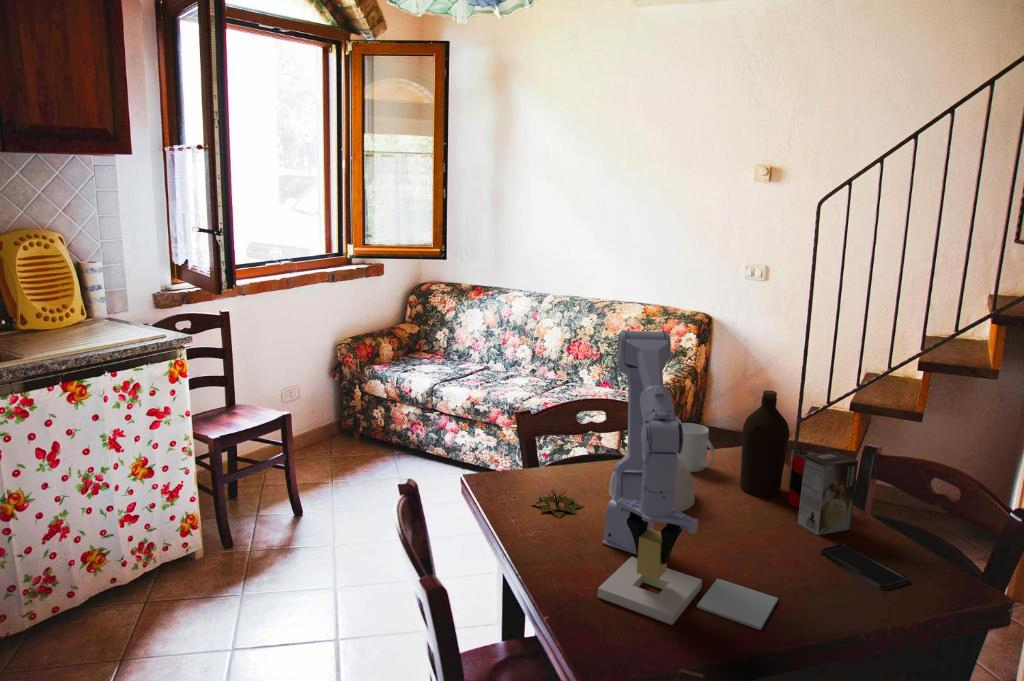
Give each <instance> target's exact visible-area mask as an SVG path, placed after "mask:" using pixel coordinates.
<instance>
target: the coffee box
mask: <svg viewBox="0 0 1024 681" xmlns="http://www.w3.org/2000/svg"><path fill="white" fill-rule="evenodd" d="M858 465H859V460H856V459H854V458H851V456H847V455H845V454H843V453H840V452H838V451H831V452H824V453H817V454H815V455H808V456H805V461H804V470H803V479H802V488H801V498H800V507H799V508H798V516H797V517H798V518H797V524H798V525H799V526H801V527H803V528H805V529H806V530H808V531H810V532H811V533H814V534H815V535H816V536H823V535H827V534H828V533H829V534H832V533H834V534H835V533H837V532H838V533H839V532H843V531H849V530H850V529H851V522H852V514H853V506H854V497H855V488H856V482H857V473H858Z"/></svg>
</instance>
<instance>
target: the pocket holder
mask: <svg viewBox="0 0 1024 681" xmlns="http://www.w3.org/2000/svg"><path fill="white" fill-rule="evenodd" d="M637 561H638V557H634V556H631V557H629V558H628V559H627V560H626V561H625V562H624V563H623V564H622V565H621V566H620V567H618V568H617V569H616V571H614V572H613V573H612V574H611V575H610V576H609V577H608V578H607V579H606V580H605V581H603V582H602V583H601V585H599V587H598V588H597V598H598V599H602V600H604V601H606V602H610V603H612V604H615V605H618V606H621V607H622V608H625V609H628V610H630V611H634V612H636V613H639V614H641V615H645V616H647V617H649V618H652V619H654V620H657V621H660V622H663V623H666V624H667V625H671V626H673V625H674V624H675V623H676V621H677V619H679V617H680V616H681V615H682V613H683V612H684V611H685V610H686V608H687V607H688V606H689V605H690V604H691V602H692V600H694V599H695V597H696V596H697V595H698V593H699V592H700V591H701V590H702V585H703V583H702V582H703V579H701V578H698V577H695V576H692V575H689V574H687V573H682V572H680V571H676V570H673V569H670V568H667V570H666V572H665V573H664V574H663V575H662V576H661V577H660V578H659V579H658V580H655V579H652V578H650V577H647V576H644V575H641V574H638V573H637ZM643 583H644V584H645V585H646V584H647V585H650V586H652V587H655V588H658V589H661V591H660V592H659V593H655V592H652V591H649V590H647V589H644V588H641V585H642V584H643ZM700 589H701V590H700Z"/></svg>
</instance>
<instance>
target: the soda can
mask: <svg viewBox="0 0 1024 681" xmlns="http://www.w3.org/2000/svg"><path fill="white" fill-rule="evenodd" d="M815 454H818V453H816V452H812V451H800V452H798V453H796V455H794V457H793V458H792V462H791V470H790V478H789V486H788V497H787V501H788V503H789V504H790V505H791V506H792V507H794V508H796V509H799V507H800V498H801V488H802V479H803V470H804V461H805V456H808V455H815Z"/></svg>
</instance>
